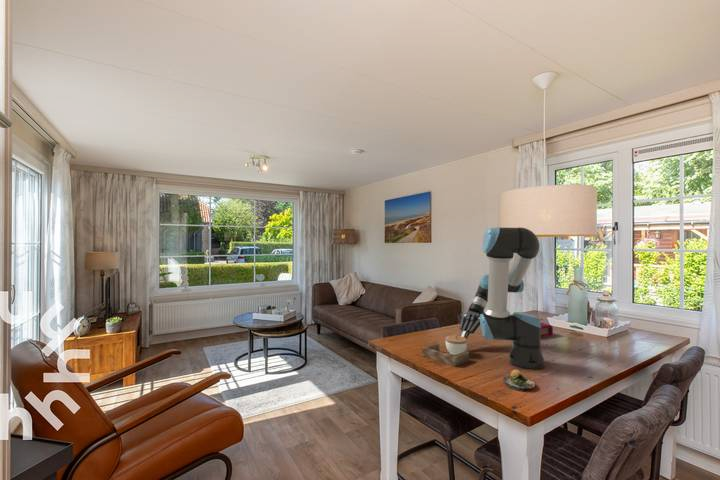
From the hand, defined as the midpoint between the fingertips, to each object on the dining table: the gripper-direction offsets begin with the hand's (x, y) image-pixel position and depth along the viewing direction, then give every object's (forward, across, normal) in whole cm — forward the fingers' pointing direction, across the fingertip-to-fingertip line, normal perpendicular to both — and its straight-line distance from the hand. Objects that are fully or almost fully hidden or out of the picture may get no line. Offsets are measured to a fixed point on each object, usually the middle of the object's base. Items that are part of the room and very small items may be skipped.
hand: (460, 342), depth 173 cm
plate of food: (+17, -38, +10) cm, 43 cm away
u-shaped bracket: (+15, -1, +9) cm, 18 cm away
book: (-40, -4, -48) cm, 63 cm away
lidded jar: (+8, -1, +2) cm, 8 cm away
